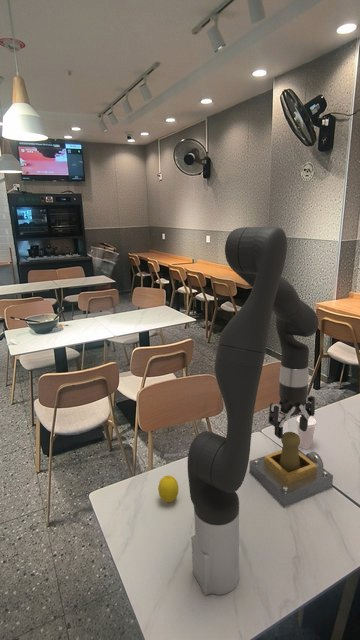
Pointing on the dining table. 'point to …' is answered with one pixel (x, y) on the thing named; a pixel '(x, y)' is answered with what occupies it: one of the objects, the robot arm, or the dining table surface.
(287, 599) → the dining table surface
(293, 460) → the olive pestle shaped cylinder
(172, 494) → the lemon
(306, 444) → the smoothie
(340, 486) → the dining table surface
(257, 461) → the square socket fixture
